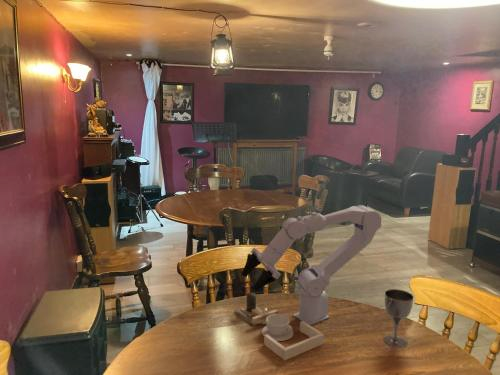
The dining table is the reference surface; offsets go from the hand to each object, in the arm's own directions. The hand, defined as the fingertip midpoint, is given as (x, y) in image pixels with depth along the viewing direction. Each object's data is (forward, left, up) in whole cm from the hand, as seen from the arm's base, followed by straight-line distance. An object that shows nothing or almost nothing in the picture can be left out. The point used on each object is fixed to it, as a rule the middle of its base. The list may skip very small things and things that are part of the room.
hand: (248, 282), depth 129 cm
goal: (-4, +18, -14) cm, 23 cm away
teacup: (-4, +10, -14) cm, 18 cm away
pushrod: (-4, -2, -14) cm, 15 cm away
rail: (-4, -3, -14) cm, 15 cm away
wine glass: (-31, +34, -14) cm, 48 cm away
